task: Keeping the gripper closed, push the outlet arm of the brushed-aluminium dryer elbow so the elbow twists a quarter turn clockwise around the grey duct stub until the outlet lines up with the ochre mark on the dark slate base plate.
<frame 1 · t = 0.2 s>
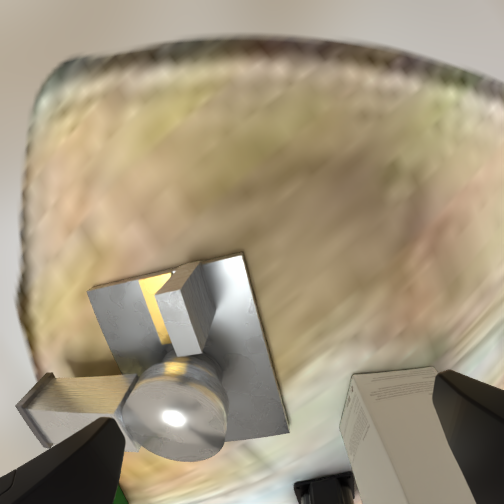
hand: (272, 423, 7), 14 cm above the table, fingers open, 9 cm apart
skincare box: (388, 394, 24), on the table
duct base: (193, 366, 23), on the table
milk carton: (101, 486, 29), on the table
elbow: (117, 412, 18), point 5 cm above the table, hinge at 90.0°
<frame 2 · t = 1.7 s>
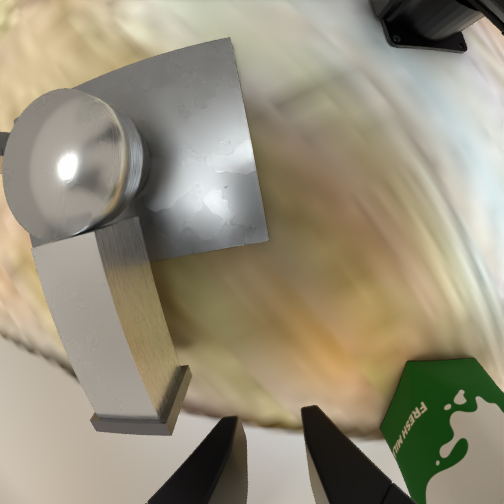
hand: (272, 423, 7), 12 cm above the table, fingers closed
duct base: (121, 166, 18), on the table
milk carton: (428, 393, 21), on the table
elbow: (95, 265, 13), point 5 cm above the table, hinge at 90.0°
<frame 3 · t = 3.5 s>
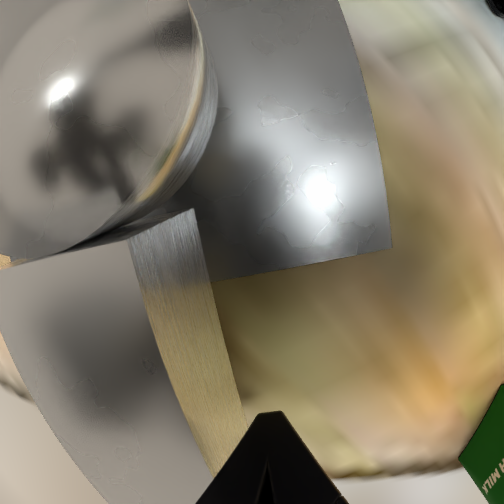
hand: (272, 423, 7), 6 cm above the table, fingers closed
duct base: (150, 129, 11), on the table
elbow: (117, 303, 7), point 5 cm above the table, hinge at 89.3°, touching gripper
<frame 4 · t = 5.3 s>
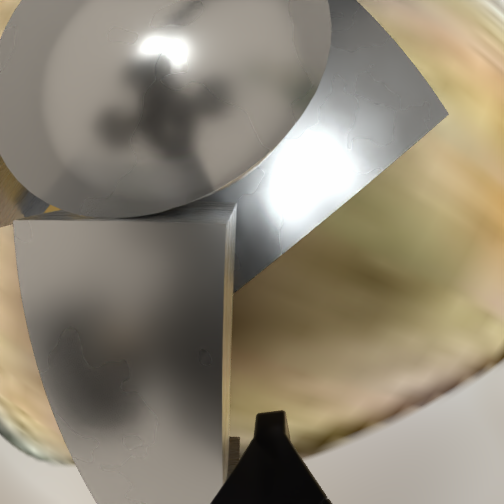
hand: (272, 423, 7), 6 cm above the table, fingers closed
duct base: (195, 112, 11), on the table
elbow: (149, 282, 7), point 5 cm above the table, hinge at 47.0°, touching gripper
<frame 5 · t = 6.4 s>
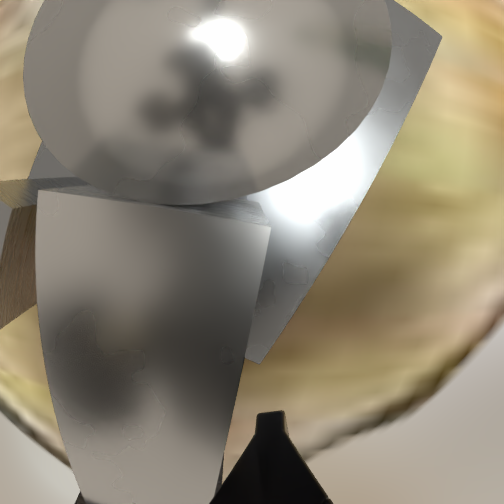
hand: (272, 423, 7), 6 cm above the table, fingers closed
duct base: (223, 105, 11), on the table
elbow: (165, 271, 7), point 5 cm above the table, hinge at 18.7°, touching gripper
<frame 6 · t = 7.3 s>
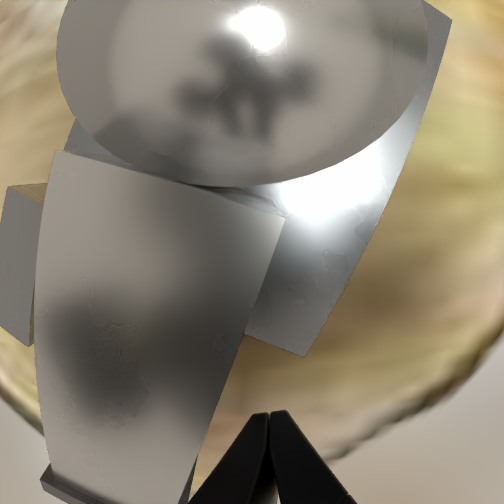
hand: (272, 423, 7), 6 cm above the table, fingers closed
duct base: (250, 99, 11), on the table
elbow: (170, 253, 7), point 5 cm above the table, hinge at 6.1°
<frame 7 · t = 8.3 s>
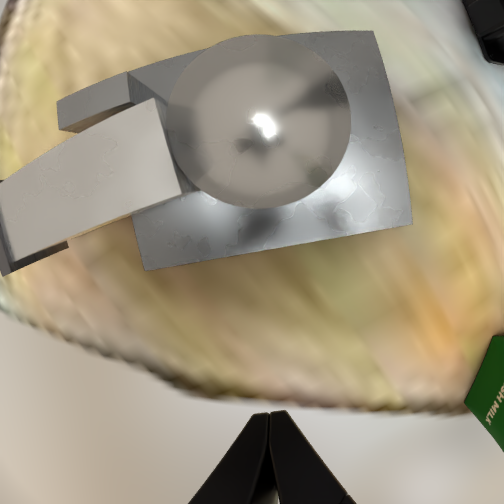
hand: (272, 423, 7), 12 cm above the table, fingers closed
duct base: (260, 140, 17), on the table
milk carton: (502, 366, 20), on the table
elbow: (147, 163, 12), point 5 cm above the table, hinge at 6.1°
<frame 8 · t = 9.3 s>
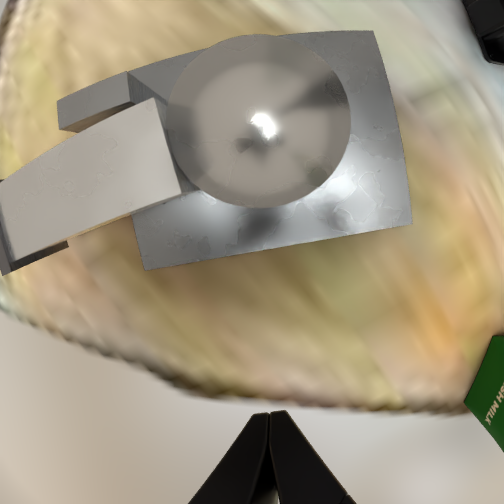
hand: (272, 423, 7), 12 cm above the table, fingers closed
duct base: (260, 140, 17), on the table
milk carton: (501, 366, 20), on the table
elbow: (147, 162, 12), point 5 cm above the table, hinge at 6.1°
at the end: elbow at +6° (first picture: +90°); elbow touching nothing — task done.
